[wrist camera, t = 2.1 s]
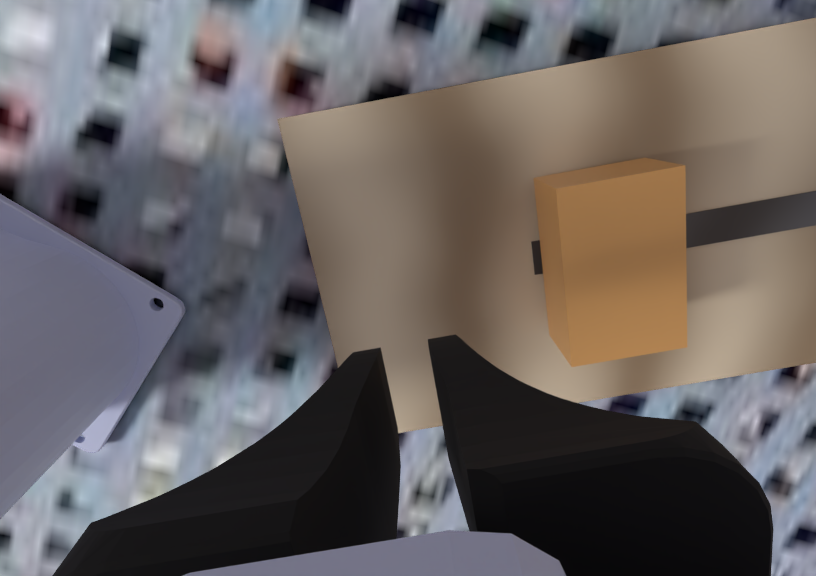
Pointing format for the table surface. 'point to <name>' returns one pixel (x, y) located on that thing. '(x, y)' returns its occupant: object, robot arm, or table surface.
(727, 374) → the fader panel
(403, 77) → the table surface
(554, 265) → the fader knob
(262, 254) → the table surface
